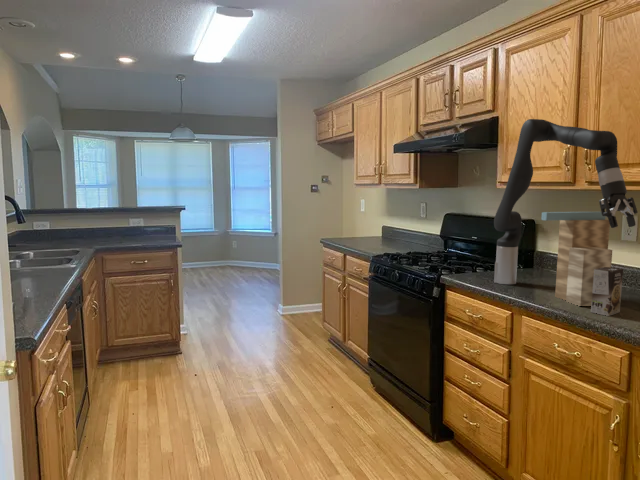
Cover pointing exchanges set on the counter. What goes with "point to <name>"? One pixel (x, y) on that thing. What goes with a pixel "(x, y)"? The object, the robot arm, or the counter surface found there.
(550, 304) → the counter surface
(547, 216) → the bar
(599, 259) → the beige tall block
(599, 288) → the coffee box
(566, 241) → the wooden tall block
